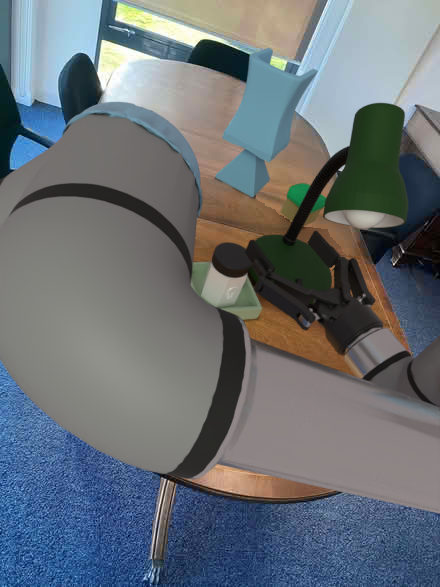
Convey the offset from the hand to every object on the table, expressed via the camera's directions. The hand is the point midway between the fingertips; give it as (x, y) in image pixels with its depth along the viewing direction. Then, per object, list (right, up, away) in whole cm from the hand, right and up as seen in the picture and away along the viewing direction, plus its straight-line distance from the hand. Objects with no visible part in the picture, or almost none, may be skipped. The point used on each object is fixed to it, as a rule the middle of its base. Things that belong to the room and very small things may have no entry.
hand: (282, 241), depth 65 cm
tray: (-11, -9, +23) cm, 27 cm away
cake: (+13, +15, +55) cm, 58 cm away
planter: (-3, +28, +60) cm, 67 cm away
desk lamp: (+7, -7, +32) cm, 33 cm away
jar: (-11, -9, +22) cm, 26 cm away
